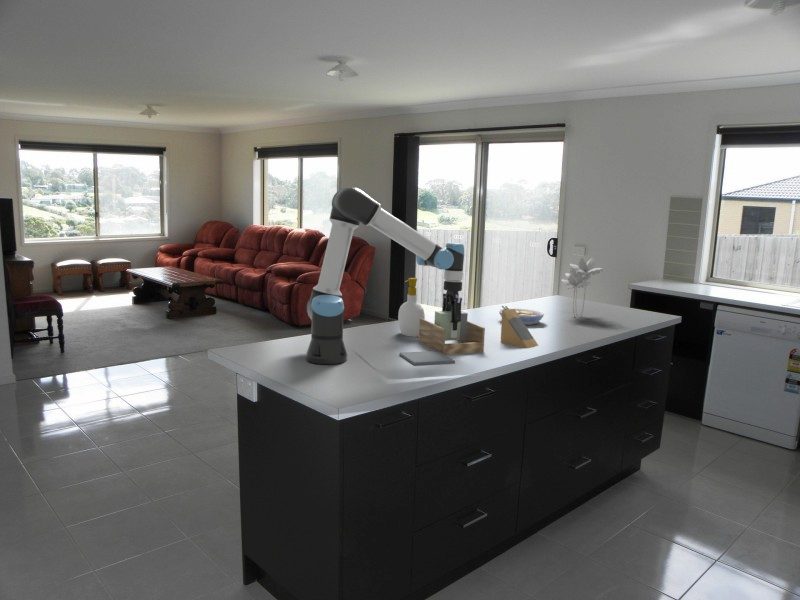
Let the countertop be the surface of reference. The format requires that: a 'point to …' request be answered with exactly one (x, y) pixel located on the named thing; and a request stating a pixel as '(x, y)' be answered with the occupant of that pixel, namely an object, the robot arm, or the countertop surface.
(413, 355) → the slate mat
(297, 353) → the countertop surface
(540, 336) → the countertop surface
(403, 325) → the soap bottle
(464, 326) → the capped box
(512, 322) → the sandwich container
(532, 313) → the ramen bowl
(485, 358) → the countertop surface
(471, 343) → the wooden display shelf
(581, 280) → the flower bouquet
